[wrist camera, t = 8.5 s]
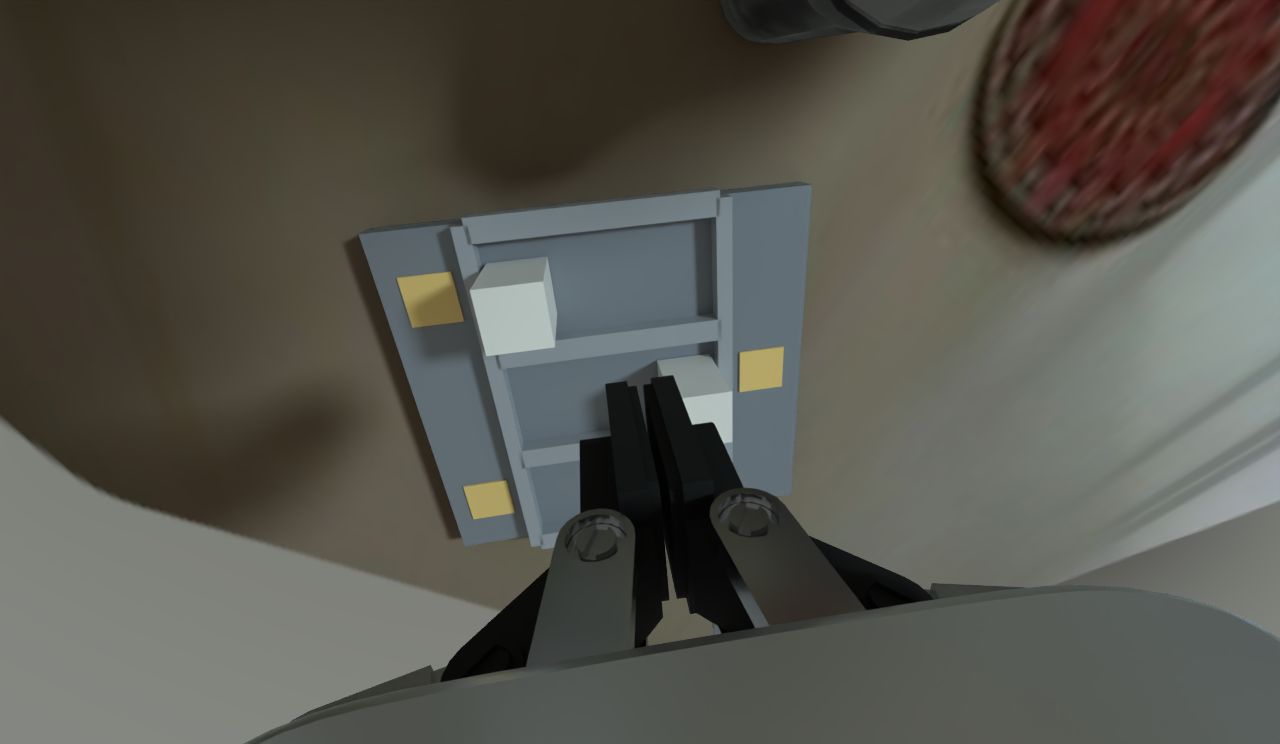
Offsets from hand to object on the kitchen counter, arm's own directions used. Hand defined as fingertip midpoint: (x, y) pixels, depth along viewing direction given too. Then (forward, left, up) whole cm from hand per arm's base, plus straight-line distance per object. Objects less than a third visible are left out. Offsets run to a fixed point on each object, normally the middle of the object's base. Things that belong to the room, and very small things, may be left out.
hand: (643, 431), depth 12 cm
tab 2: (-4, +7, -15) cm, 17 cm away
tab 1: (+4, 0, -15) cm, 15 cm away
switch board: (0, +7, -16) cm, 18 cm away
